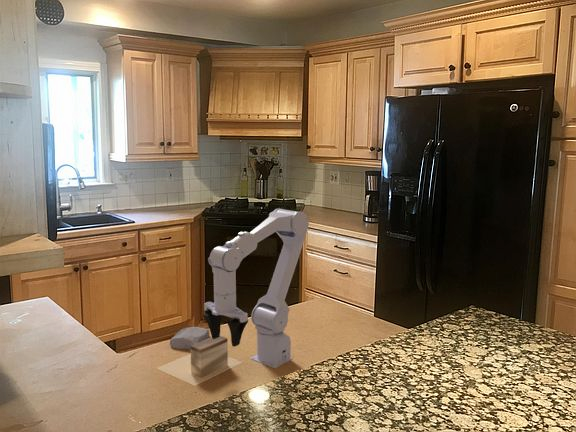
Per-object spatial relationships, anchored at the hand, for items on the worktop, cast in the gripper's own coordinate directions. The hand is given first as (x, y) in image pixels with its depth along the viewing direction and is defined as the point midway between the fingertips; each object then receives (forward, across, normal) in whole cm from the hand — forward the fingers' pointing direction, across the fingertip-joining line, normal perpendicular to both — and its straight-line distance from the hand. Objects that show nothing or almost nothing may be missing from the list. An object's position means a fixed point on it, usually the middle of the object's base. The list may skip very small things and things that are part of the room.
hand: (225, 341), depth 142 cm
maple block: (+10, -7, 0) cm, 12 cm away
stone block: (+11, -26, +9) cm, 30 cm away
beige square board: (+10, -11, 0) cm, 15 cm away
